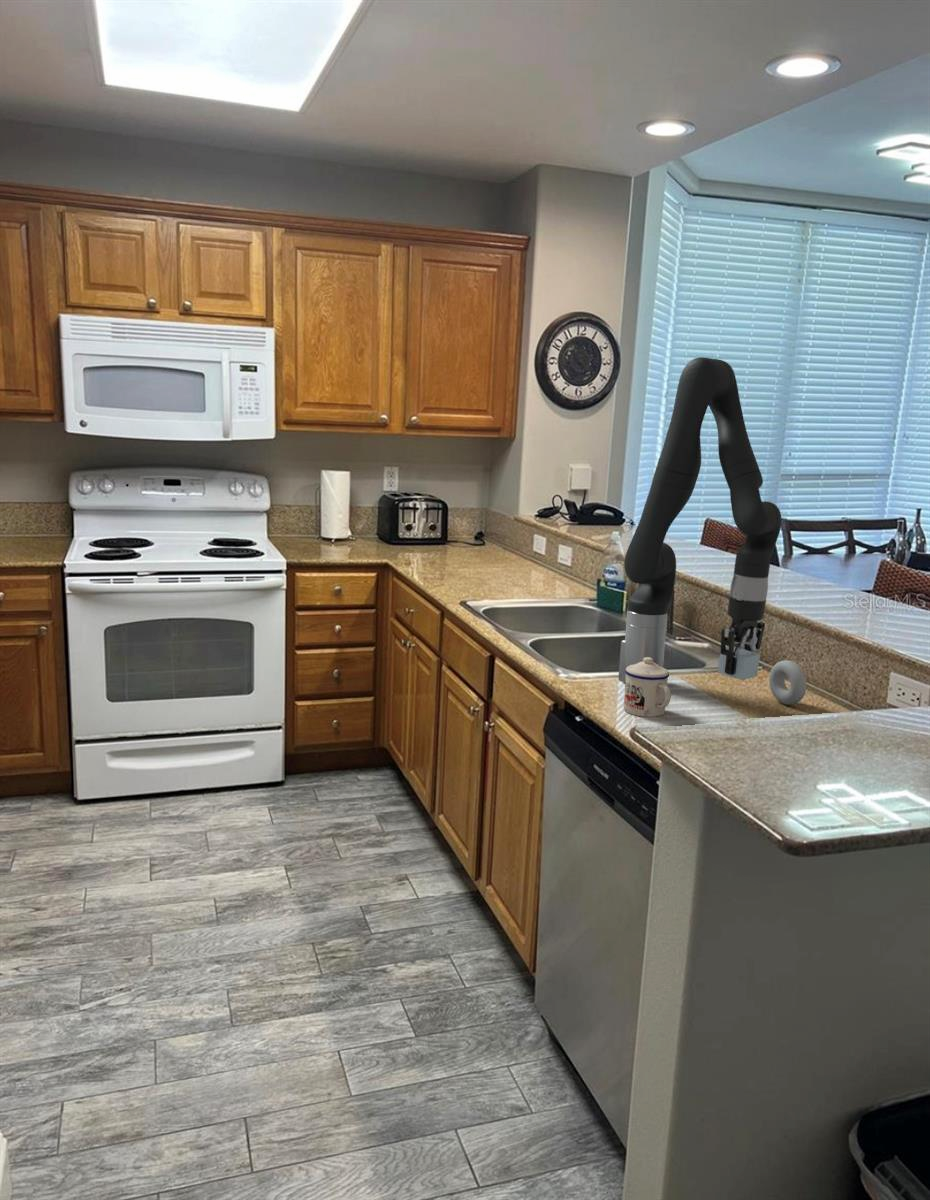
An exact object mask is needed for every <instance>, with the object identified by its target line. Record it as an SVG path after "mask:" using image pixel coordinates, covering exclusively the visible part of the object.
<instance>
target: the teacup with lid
mask: <svg viewBox="0 0 930 1200" xmlns="http://www.w3.org/2000/svg"><path fill="white" fill-rule="evenodd" d="M625 673H626V682H625V683H624V684H625V685H624V695H623V696H624V698H623V710H624V711H625V712H626V713H628V714H629V713H630V714H629V715H632V716H636V717H640V718H641V717H642V718H656V716H658V717H661V716H663V715H664V714H665V712H666V707H668V706H669V704H670V702H671V699H672V693H671V689H670V688H669V687H668V679H669V677H670V674H669V670H668V669H666V668H664V666H663V667H660V666H659V665H657V664H656V663H653V659H652V658H649V657H645V658H644V659H643V662H639V663H637V664H634V665H630V666H628V667H627V668H626V670H625Z"/></svg>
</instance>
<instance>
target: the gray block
mask: <svg viewBox="0 0 930 1200" xmlns="http://www.w3.org/2000/svg"><path fill="white" fill-rule="evenodd" d="M735 648H736V647H734V651H735ZM760 657H761V653H760V652H752V651H749V650H745V649H743V648H742V649H740V651H739V654H738V656H737V664H736V672H735V674H734V675H730V674H727V673H725V664H726V656H725V655H723V654H721V653H720V655H719V662H718V663H719V664H718V667H717V668H718V671H717V674H720V675H724V676H727V677H730V678H734V679H737V680H740V681H745V680H748V679H751V678H754V677H757V676H758V672H759V665H760V659H761V658H760Z"/></svg>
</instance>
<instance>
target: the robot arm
mask: <svg viewBox="0 0 930 1200" xmlns="http://www.w3.org/2000/svg"><path fill="white" fill-rule="evenodd" d="M708 408H709V409H710V412H711V413H712V416H713V417H714V420H715V424H716V429H717V430H716V431H717V435H718V436H717V438H718V440H717V442H718V444H717V445H718V447H717V448H718V449H717V451H718V459H719V463H720V467H721V470H722V473H723V475H724V479H725V481H726V484H727V487H728V489H729V491H730V492H729V497H730V504H731V506H730V507H731V513H732V518H733V522H734V523H735V526H736V528H737V529H738V531H739V532H740V533H741V534H743V535H744V536H746V539H745V542H744V543H743V545H742V546H740V547H739V548H738V549H737V552H736V555H735V561H734V567H733V569H734V570H733V575H732V579H731V583H730V590H729V598H728V606H727V615H728V616H729V617H730V618H731V623H730V625H729V627H722V629H721V636H720V637H721V638H720V653H721V654H723V655H725V656H726V664H725V673H727V674H730V675H734V674H735V672H736V664H737V656H738V654H739V651H740V649H745V650H749V651H752V652H756V651H757V650H760V649H761V646H762V641H763V637H764V632H765V627H766V623H765V622H762V620H763V619H764V618H765V611H766V604H767V597H768V590H769V576H770V575H769V574H770V566H771V558H772V554H773V551H774V550H775V546H776V544H777V541H778V537H779V536H780V532H781V528H782V527H781V526H782V514H781V510H780V509H779V507H778V506H777V504H775V503H774V502H771V501H762V498H761V494H760V488H761V487H762V486H763V484H764V481H763V475H762V473H761V469H760V467H759V465H758V462H757V459H756V456H755V453H754V451H753V448H752V445H751V441H750V438H749V434H748V431H747V427H746V424H745V419H744V415H743V409H742V404H741V399H740V392H739V388H738V383H737V378H736V374H735V371H734V369H733V367H732V365H730V364H729V363H728V362H727V361H725V360H722V359H718V358H711V357H704V356H702V357H695V358H693V359H692V360H690V361H689V362H687V363H686V365H685V366H684V367H683V369H682V372H681V374H680V377H679V379H678V384H677V389H676V394H675V400H674V404H673V409H672V414H671V418H670V422H669V425H668V429H667V432H666V435H665V439H664V442H663V446H662V449H661V453H660V455H659V458H658V460H657V464H656V467H655V470H654V475H653V478H652V480H651V485H650V488H649V491H648V495H647V497H646V500H645V503H644V506H643V510H642V513H641V517H640V519H639V521H638V524H637V527H636V529H635V531H634V534H633V535H632V538H631V541H630V543H629V546H628V547H627V550H626V553H625V557H624V562H623V563H624V564H623V565H624V567H623V568H624V573H625V575H626V577H627V578H628V579H629V581H631V582H632V583H635V584H638V587H637V589H636V591H635V592H634V593H633V594H632V595H631V596H630V597H629V598H628V600H627V607H626V609H627V611H626V621H625V624H626V625H625V635H624V636H625V638H624V639H623V640H621V642H620V655H619V665H618V677H617V678H618V681H621V682H622V683H623V684H625V682H626V673H625V670H626V668H627V667H628V666H630V665H634V664H637V663H639V662H643V659H644V658H645V657H649V658H652V659H653V663H656V664H657V665H659V666H660V667H663V668H664V660H665V647H666V646H665V645H666V635H667V623H668V622H667V621H668V610H669V606H670V604H671V602H672V599H673V596H674V589H675V581H676V573H677V558H676V554H675V551H674V550H673V548H672V547H671V546H670V545H669V544H668V543H666V542H665V538H666V535H667V533H668V531H669V529H670V527H671V525H672V523H673V522H674V521H675V520H676V519H677V517H678V515H680V513H681V512H682V510H683V509H684V507H686V504H687V503H688V502H689V500H690V498H691V496H692V494H693V492H694V490H695V487H696V483H697V481H698V478H699V474H700V471H701V466H702V446H701V431H702V425H703V421H704V418H705V415H706V412H707V410H708ZM734 647H736V648H735V651H734ZM756 653H757V652H756Z"/></svg>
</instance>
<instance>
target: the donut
mask: <svg viewBox="0 0 930 1200" xmlns="http://www.w3.org/2000/svg"><path fill="white" fill-rule="evenodd" d="M786 676H787V678H788V679H789V682H790V684H789V685H790V686H789V688H788V687H787V686H786ZM768 683H769V689H770V691H771V693H772V695H773V697H774V698H775V699H776V701H778V702H779V703H781V704H783V705H787V706H792V705H793V706H794V705H797V704H799V702H801V701H802V700H803V699H804V697H805V695H806V692H807V688H808V687H807V678H806V674H805V672H804V671H803V669H802V667H801V666H800V665H799V664H798V663H796V662H794V661H793V660H788V659H787V660H786V659H784V660H781V661H778V662H776V663H775V664H774V665H773V666H772V668H771V670H770V673H769V678H768Z"/></svg>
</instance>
